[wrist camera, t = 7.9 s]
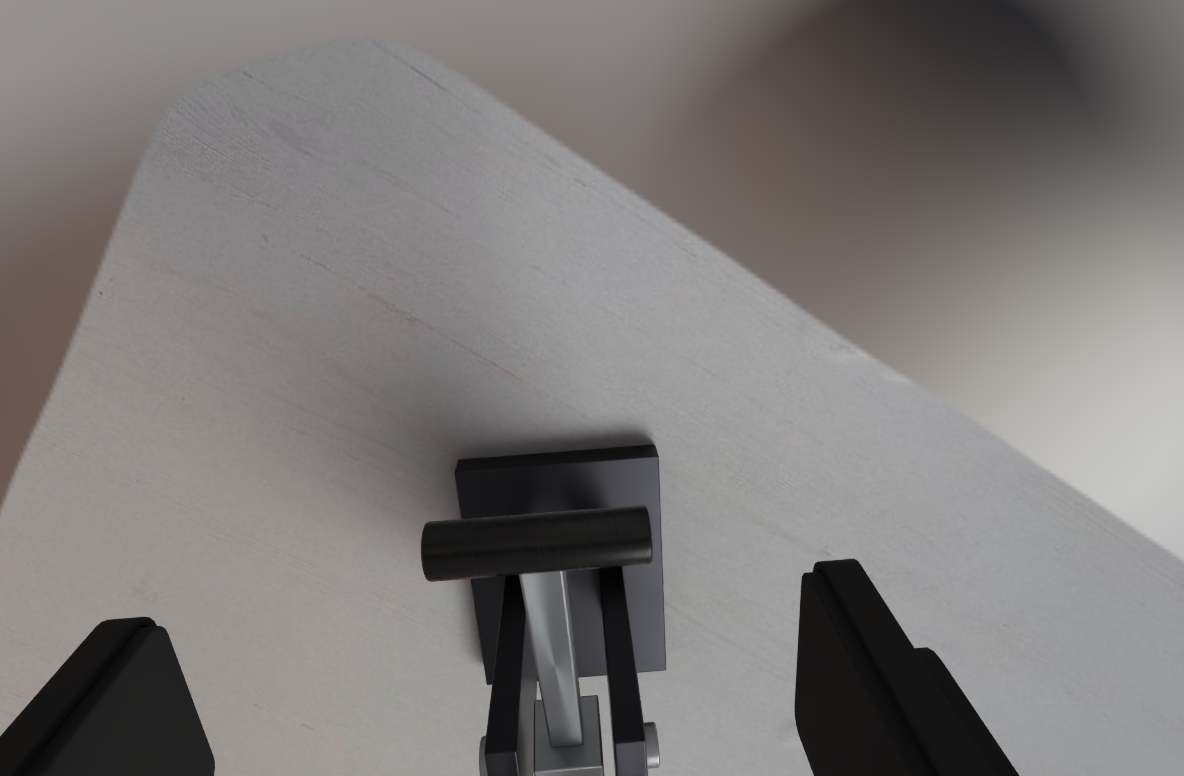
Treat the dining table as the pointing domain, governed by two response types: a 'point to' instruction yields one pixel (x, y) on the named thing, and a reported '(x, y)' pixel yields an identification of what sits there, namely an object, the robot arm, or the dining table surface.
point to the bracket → (596, 596)
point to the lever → (546, 605)
